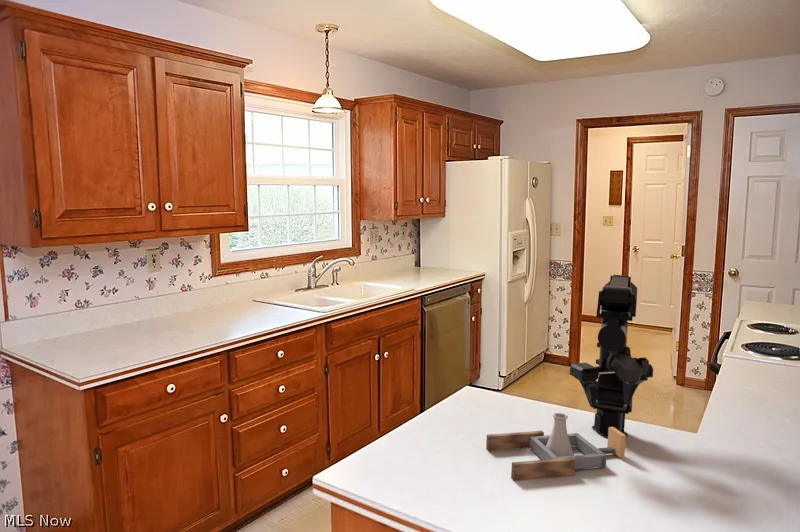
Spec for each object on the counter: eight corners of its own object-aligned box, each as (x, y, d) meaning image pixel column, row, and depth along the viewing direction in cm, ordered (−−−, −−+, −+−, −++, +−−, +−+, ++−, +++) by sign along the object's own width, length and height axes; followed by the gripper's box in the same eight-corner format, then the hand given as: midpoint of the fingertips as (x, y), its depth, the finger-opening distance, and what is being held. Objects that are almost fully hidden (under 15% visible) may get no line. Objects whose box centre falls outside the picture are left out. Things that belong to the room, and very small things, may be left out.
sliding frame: (603, 441, 141) (604, 420, 140) (634, 464, 129) (635, 441, 128) (529, 447, 137) (530, 426, 136) (554, 471, 125) (555, 448, 124)
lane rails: (540, 444, 139) (541, 430, 139) (574, 475, 124) (575, 459, 124) (486, 448, 136) (486, 434, 136) (513, 480, 121) (514, 464, 121)
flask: (542, 462, 130) (545, 419, 129) (541, 449, 137) (543, 408, 136) (576, 465, 129) (578, 422, 127) (572, 452, 136) (575, 411, 135)
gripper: (597, 351, 124) (593, 421, 126) (672, 347, 128) (667, 415, 130) (570, 339, 135) (566, 403, 136) (639, 335, 139) (635, 398, 141)
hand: (609, 405), depth 136 cm, fingers open, 9 cm apart
